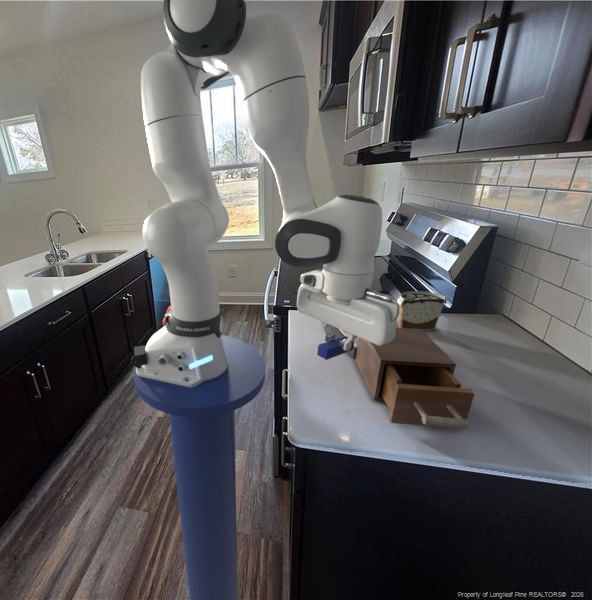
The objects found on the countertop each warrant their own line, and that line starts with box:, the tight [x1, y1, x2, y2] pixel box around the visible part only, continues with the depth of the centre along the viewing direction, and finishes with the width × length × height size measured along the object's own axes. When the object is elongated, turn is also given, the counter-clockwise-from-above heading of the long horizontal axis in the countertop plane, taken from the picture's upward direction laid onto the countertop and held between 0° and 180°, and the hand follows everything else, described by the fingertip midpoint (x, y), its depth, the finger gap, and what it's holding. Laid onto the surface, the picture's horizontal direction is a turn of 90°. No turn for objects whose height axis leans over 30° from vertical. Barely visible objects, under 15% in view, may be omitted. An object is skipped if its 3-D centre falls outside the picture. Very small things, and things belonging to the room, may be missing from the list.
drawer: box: [380, 364, 476, 431], centre depth 59 cm, size 18×11×8 cm, turn 168°
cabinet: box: [355, 327, 457, 402], centre depth 68 cm, size 15×13×10 cm
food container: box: [396, 290, 448, 331], centre depth 91 cm, size 12×6×10 cm, turn 89°
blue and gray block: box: [316, 336, 354, 361], centre depth 67 cm, size 8×2×2 cm, turn 116°
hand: (336, 344), depth 66 cm, fingers closed on blue and gray block, 2 cm apart
